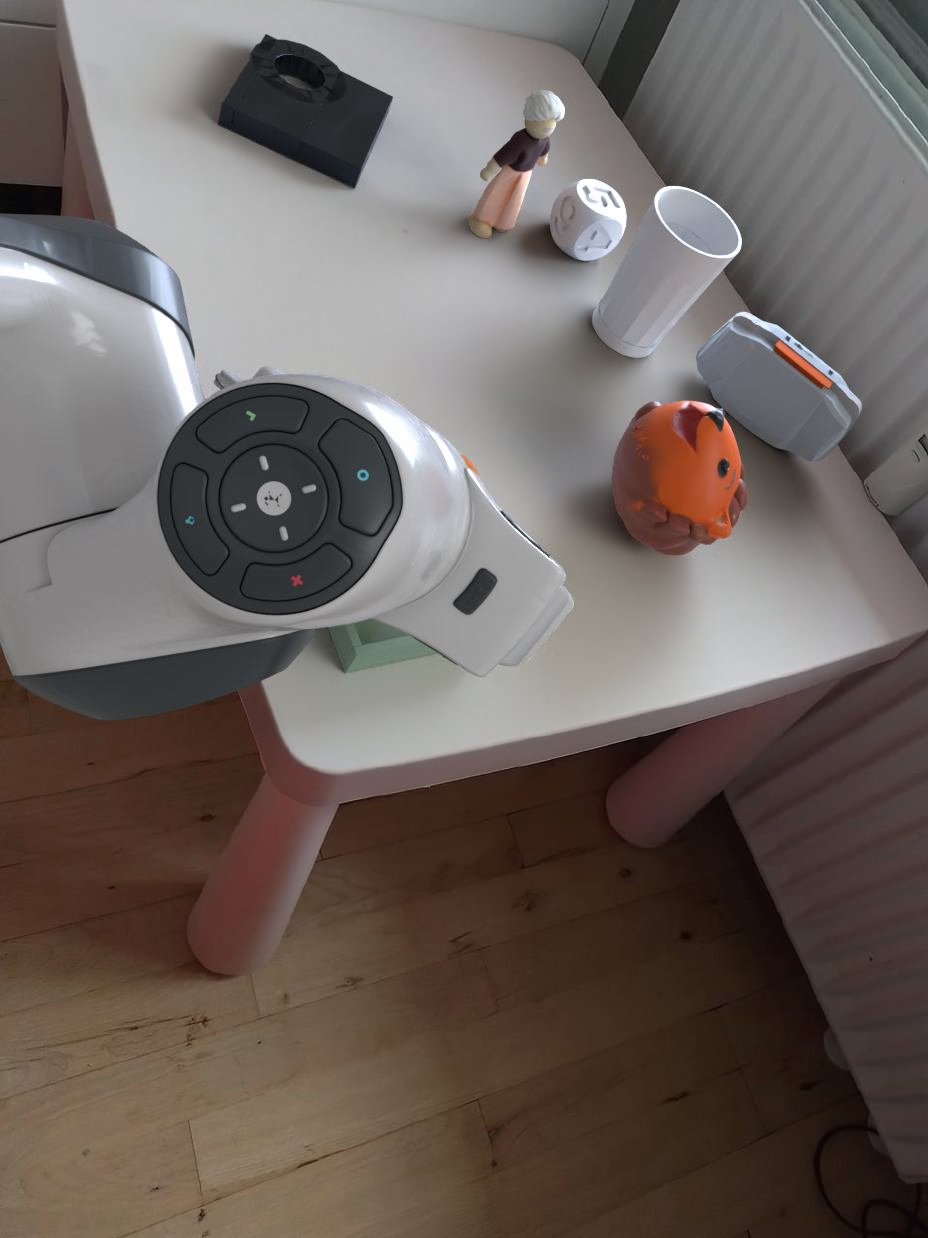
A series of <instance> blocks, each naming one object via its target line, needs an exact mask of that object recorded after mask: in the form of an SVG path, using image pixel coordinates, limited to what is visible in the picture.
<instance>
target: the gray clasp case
mask: <svg viewBox="0 0 928 1238" xmlns="http://www.w3.org/2000/svg"><path fill="white" fill-rule="evenodd" d="M695 360H696V368H697V371H698V373H699V374H700V376H701V378H702V379H703V381H704V382H705V384H707V385H708V388H709V390H710V391H711V395H712V398H713V399H714V400H715V402H716V403H717V404H718V405H719V406H720V407H721V409H723V410H724V411H725V413H727V414H728V415H730V416H731V417H732V418H733V419H734V420H735V421H737V422H738V423H739V424H740V425H741V426H743V427H744V428H745V429H746V430H748V431H749V432H750V433H752V434H753V435H755V436H756V437H758V439H761V440H762V441H763V442H765V443H767V444H768V445H770V446H772V447H773V448H775V449H779V450H784V451H787V452H790V453H792V454H794V455H796V456H798V457H800V458H802V459H803V460H805V461H807V462H812V463H813V462H819V461H822V460H824V459H825V458H826V457H827V456H828V455H830V453H831V452H833V451H834V450H835V448H836V447H838V445H839V444H840V443H841V442H842V440H843V439H844V438H845V437H846V435H848V432H849V431H850V430H851V428H852V427H853V426H854V424H855V423H856V421H857V419H858V418H859V416H860V414H861V412H862V409H863V403H862V402H861V400H860V399H859V397H858V396H856V395H855V393H854V392H852V391H851V390H850V389H849V386H848V384H847V383H846V381H845V380H844V378H843V377H842V374H841V375H840V373H838V371H836V370H834V369H833V368H832V367H831V366H829V365H828V364H827V363H826V362H824V361H823V360H822V359H821V358H819V356H817V355H816V354H815V353H813V352H812V351H810V350H809V349H808V347H806V346H805V345H803V344H802V343H801V342H799V341H798V340H797V339H796V338H795V337H793V336H792V335H791V334H790V333H788V332H787V331H786V330H785V329H784V328H782V327H780V326H779V325H778V324H775V323H771V322H769V321H768V322H767V321H764V320H762V319H760V318H758V317H757V316H755V315H753V314H751V313H750V312H747V311H740V312H737V313H735V314H734V316H733V317H731V318H730V319H729V320H728V321H726V323H724V324H723V325H722V326H721V327H720V328H719V329H718V330H717V331H716V332H714V334H712V335H711V337H709V339H708V340H707V341H706V342H705V343H704V344H703V345H702V347H700V349H699V350H698V351H697V353H696V356H695Z"/></svg>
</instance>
